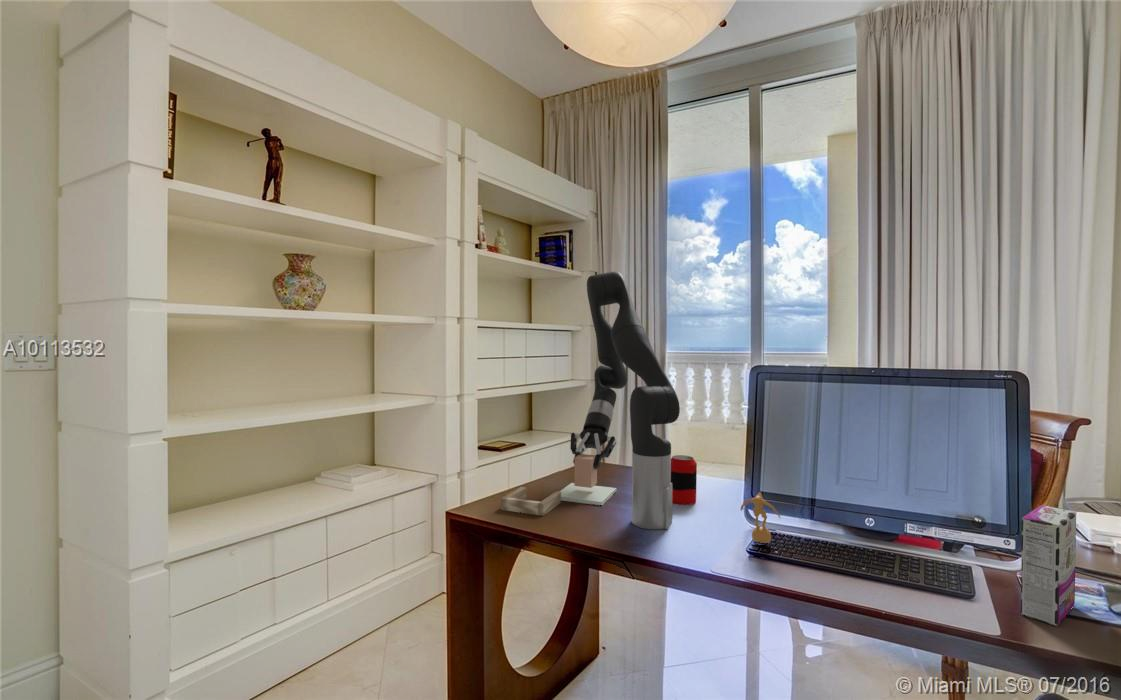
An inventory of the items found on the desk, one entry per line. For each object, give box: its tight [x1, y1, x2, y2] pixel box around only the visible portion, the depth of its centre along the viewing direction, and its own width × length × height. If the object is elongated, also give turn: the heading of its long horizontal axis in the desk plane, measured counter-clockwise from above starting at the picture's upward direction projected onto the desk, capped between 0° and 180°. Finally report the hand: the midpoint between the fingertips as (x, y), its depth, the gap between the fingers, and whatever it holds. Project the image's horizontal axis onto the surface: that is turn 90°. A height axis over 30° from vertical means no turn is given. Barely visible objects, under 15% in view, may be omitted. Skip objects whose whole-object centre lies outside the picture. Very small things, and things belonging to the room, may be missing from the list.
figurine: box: [740, 492, 781, 544], centre depth 116 cm, size 8×6×12 cm
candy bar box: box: [1020, 504, 1077, 627], centre depth 89 cm, size 11×5×16 cm, turn 126°
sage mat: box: [559, 482, 618, 506], centre depth 152 cm, size 14×14×1 cm
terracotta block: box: [573, 453, 598, 488], centre depth 152 cm, size 5×5×8 cm
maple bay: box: [500, 486, 562, 517], centre depth 142 cm, size 12×12×3 cm
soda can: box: [671, 454, 698, 506], centre depth 148 cm, size 8×8×12 cm
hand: (585, 466), depth 152 cm, fingers closed on terracotta block, 5 cm apart
